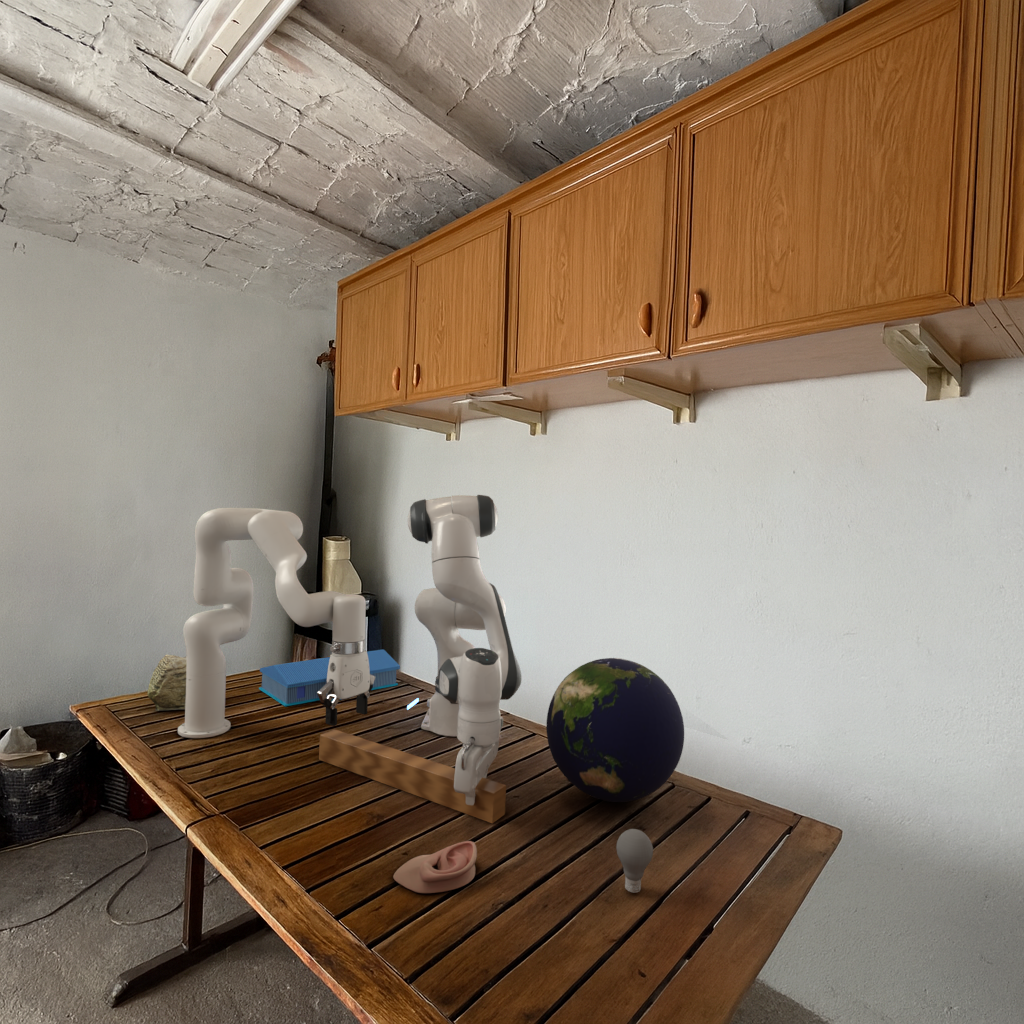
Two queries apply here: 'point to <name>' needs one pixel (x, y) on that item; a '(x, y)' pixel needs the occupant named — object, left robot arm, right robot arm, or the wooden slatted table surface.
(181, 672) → the fossil
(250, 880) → the wooden slatted table surface
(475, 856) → the anatomical model
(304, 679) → the model building
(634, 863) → the light bulb
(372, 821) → the wooden slatted table surface
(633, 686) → the globe
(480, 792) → the bar
